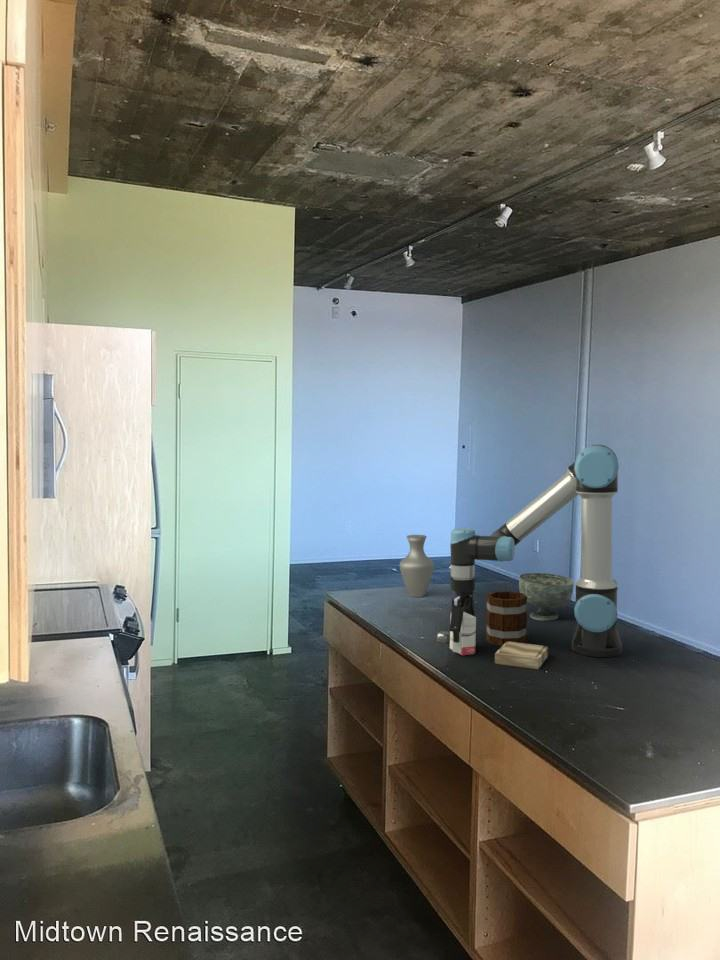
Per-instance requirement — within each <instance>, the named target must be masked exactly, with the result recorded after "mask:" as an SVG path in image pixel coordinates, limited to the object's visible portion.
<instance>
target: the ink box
mask: <svg viewBox="0 0 720 960" xmlns="http://www.w3.org/2000/svg"><path fill="white" fill-rule="evenodd" d="M449 620H450V621H449V622H450V623H451V614H450V619H449ZM450 623H449V624H450ZM461 631H462V652H461V653H458V652H456V653H458V654H459V655H461V656H467V655H475V654H476V637H477V635H476V634H477V633H476V632H477V617H476V616H475V617H474V616H472V615H470V614H468V613H466V612H463V618H462V625H461ZM449 649H450V650H451V651H453V631H450V630H449Z"/></svg>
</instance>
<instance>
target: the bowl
mask: <svg viewBox="0 0 720 960" xmlns="http://www.w3.org/2000/svg"><path fill="white" fill-rule="evenodd" d="M574 583H575V581H574V579H573V578H570V577H568V576H565V575H562V574H555V573H550V572H549V573H548V572H526V573H522V574H520V575H519V581H518V591H519V593H523V594H524V595H526V596H527V603H528V604H531V605H534V606H536V607H539V609H537V610H534V611H531V612H530V614H529V616H530V618H531V619H533V620H536V621H547V622H548V621H555V620H558V619H559V614H558V613H557V612H555V611H553V610H550V608H559V607H562V606H564V605H566V604H568V603H569V602H570V601H571V598H572V596H573V590H574Z"/></svg>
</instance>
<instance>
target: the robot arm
mask: <svg viewBox="0 0 720 960" xmlns="http://www.w3.org/2000/svg"><path fill="white" fill-rule="evenodd" d="M618 477H619V460H618V457H617V455H616V453H615V452H614V450H612V449H611V448H610V447H608V446H606V445H603V444H593V445H589V446H587V447H585V448H584V449H582V451H580V452H579V454H578V455H577V457H576V459H575V460H574V462H573V463H572V464H570V465H568V467H567V468H566V472H565V473H564V474H563V475H561V477H560V478H559V479H557V480H556V481H555V482H554V483H552V484H551V485H550V486H549V487H548V488H546V489H545V490H544V491H543V492H541V493H540V494H539V495H538V496H537V497H536V498H534V499H533V500H531V502H529V503H528V504H527V505H526V506H524V507H523V508H521V510H520V511H518V512H517V513H516V514H515V515H513V516H512V517H511V518H510V519H508V521H507V522H505V523H504V524H503V525H501V526H500V527H499V528H497V529H496V530H495V531H493V532H492V534H490V535H477V534H476V531H475V529H474V528H471V527H470V528H469V527H456V528H455V527H454V529H452V530H451V532H450V543H449V545H450V547H449V548H450V566H449V567H448V569H450V577H451V578H450V590H451V591H453V592H455V596H454V598H453V597H452V598H451V612H450V615H451V623H449V625H450V626H449V632H450V631H453V650H452V653H457V652H458V654H459V653H461V652H462V631H461V625H462V618H463V612H466V613H468V614H470V615H472V616H474V617H476V616H475V607H474V598H473V597H474V591H475V587H476V583H475V582H476V579H475V577H476V561H477V560H480V561H494V562H511V561H513V560H514V558H515V557H514V556H515V548H516V547H515V546H517V545H518V544H520V542H522V541H523V540H524V539H525V538H526V537H528V536H529V535H530V534H531V533H532V532H534V531H535V530H537V529H538V528H539V527H540V526H541V525H543V524H544V523H546V522H547V521H548V520H549V519H550V518H551V517H553V516H554V515H555V514H557V513H558V512H559V511H560V510H561V509H563V508H564V507H565V506H567V505H568V504H569V503H570V502H571V501H573V500H574V499H575V498H576V497H578V496H579V497H580V500H581V501H580V502H581V503H580V505H581V506H580V507H581V509H580V522H581V523H580V578H579V579H578V580H576V581H575V605H574V608H573V614H574V617H575V619H576V622H577V625H576V628H575V631H574V634H573V636H572V639H571V650H572V651H573V652H575V653H577V654H579V655H583V656H588V657H595V658H611V657H612V658H613V657H617V656H620V655H621V654H622V653H623V643H622V641H621V637H620V634H619V631H618V628H617V627H618V626H617V619H618V589H619V587H618V582H617V580H616V579H614V578H612V562H613V560H612V555H613V552H612V551H613V550H612V549H613V546H612V542H613V541H612V539H613V538H612V537H613V536H612V535H613V534H612V533H613V529H612V528H613V527H612V526H613V498H614V497H615V496H616V494H617V493H618V490H619V489H618V487H619V485H618V484H619V482H618V479H619V478H618Z"/></svg>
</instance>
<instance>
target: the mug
mask: <svg viewBox="0 0 720 960" xmlns="http://www.w3.org/2000/svg"><path fill="white" fill-rule="evenodd" d="M485 598H486V612H485V620H486V634H485V640H486V641H487V643H489V644H492V645H496V646H500V647H502V646H503V645H504V644H505V643H506V642H517V643H525V644H527V643H528V639H527V623H528V615H527V614H528V613H527V603H528V602H527V596H526V595H524V594H523V593H520V592H518V591H512V590H507V591H506V590H504V591H503V590H497V591H492V592H489V593H486V594H485Z"/></svg>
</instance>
